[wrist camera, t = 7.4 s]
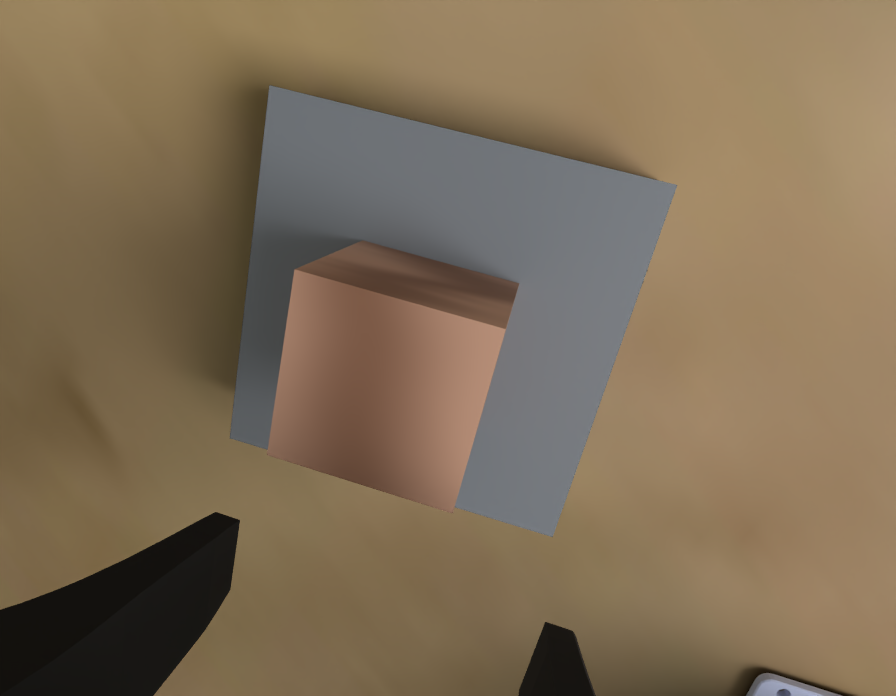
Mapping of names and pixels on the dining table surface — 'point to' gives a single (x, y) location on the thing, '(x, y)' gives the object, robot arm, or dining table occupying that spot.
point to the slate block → (468, 246)
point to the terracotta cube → (388, 369)
